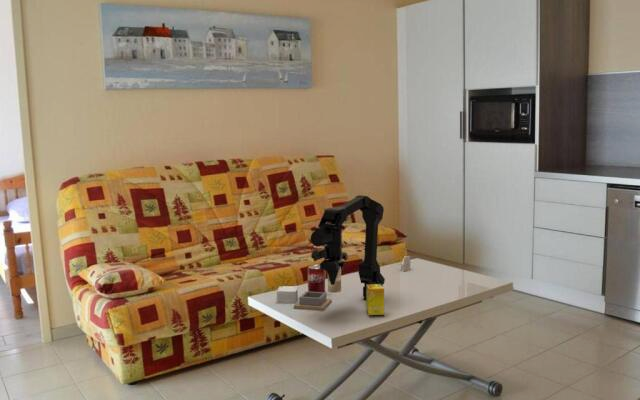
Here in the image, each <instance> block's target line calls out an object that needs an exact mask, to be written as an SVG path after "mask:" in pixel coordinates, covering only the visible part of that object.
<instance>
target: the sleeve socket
mask: <svg viewBox="0 0 640 400" xmlns="http://www.w3.org/2000/svg"><path fill="white" fill-rule="evenodd" d="M298 297H299V299H298V300H299V301H298V300H297V301H296V303H294V305H293V309H295V310H296V309H297V310H307V311H310V310H311V311H318V312H323V311H325V310H326V309H327V308H328V307H329V305H330V304H331V303H332V302H333V300H332V299H331V298H327V292H325V293H323V292H309V291H308V290H307V291H305V292H303V293H302V294H301V295H300V296H298Z"/></svg>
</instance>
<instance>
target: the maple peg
mask: <svg viewBox="0 0 640 400" xmlns="http://www.w3.org/2000/svg"><path fill="white" fill-rule="evenodd" d="M338 267H340V266H338ZM341 291H342V272H341V267H340V269H339V272H338V275H337V278H336V281H335V283H334V285H331V283H330V279H329V276H328V275H327V292H329V293H333V294H334V293H340V292H341Z"/></svg>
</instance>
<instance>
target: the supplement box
mask: <svg viewBox="0 0 640 400" xmlns="http://www.w3.org/2000/svg"><path fill="white" fill-rule="evenodd" d="M383 286H384V285H383ZM383 286H382V285H381V284H369V285H366V300H365V301H366V303H365V304H366V305H365V306H366V310H365V311H366V314H367V316H368V317H369V318H377V317H380V316H381V317H385V287H383ZM381 317H380V318H381Z"/></svg>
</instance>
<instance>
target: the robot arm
mask: <svg viewBox="0 0 640 400" xmlns="http://www.w3.org/2000/svg"><path fill="white" fill-rule="evenodd" d="M357 211H360V212H361V216H362V219H363V221H364V224H365V233H364V234H365V236H364V237H365V239H364V240H365V242H364V257H363V258H364V259H363V261H362V263H359V265H358V276H359V280H360V283H361V284H364V286H363V287H362V297H363V298H362V299H363V300H365V301H366V285H369V284H381V285H382V286H384V285H385V283H386V280H385V277H384V276H383V275H382V273H381V266H380V264H379V262H378V259H377V257H378V256H377V255H378V238H379V237H378V235H379V224H380V223H381V221H382V220H383V218H384V217H383V216H384V212H385V210H384V205H382V203H379V202H377V201H376V200H374V199H372V198H370V197H369V196H367V195H361V194H359V195H356V196H355V197H354V198H352V199H350V200H349V201H347V202H345V203H343V204H341V205H340V206H333V207H329V208H326V209H325V210H324V212H323V214H322V216H321V219H320V222H319V224H318V227H315V228H314V231H313V232H312V233H311V235H310V242H311V244H312V245H313V246H314V247H318V248H319V247H322V246H323V247H324V248H320V249H315V250H312V251H311V253H310V255H311V257H310V258H311V259H312V260H313V262H317V261H319V260H322V259H323V261H321V262H320V263H319V265H320V269H324V270H325V272H326V273H327V277H328V276H329V279H330V283H331V285H334V283H335V281H336V278H337V275H338V272H339V269H340V267H341V273H342V271H343V269H344V266H345V264H346V261H347V260H348V259H349V256H348V255H349V254H348V253H347V252H346V251H343V249H342V248H343V247H344V243H343V241H342V240H343V239H342V238H343V234H342V231H343V230H346V227H345V226H344V225H343V224H344V223H345V222H346V221H347V219H348V217H349V216H350V215H352V214H353V213H356V212H357ZM343 260H344V261H343ZM338 266H340V267H338Z"/></svg>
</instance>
